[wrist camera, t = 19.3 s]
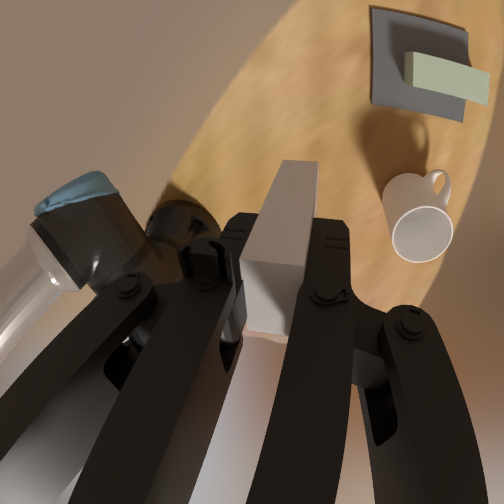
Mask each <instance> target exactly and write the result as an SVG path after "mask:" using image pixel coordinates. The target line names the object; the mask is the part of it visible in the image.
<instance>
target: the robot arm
mask: <svg viewBox="0 0 504 504" xmlns="http://www.w3.org/2000/svg"><path fill="white" fill-rule="evenodd" d="M318 170H319V162H310V161H295V160H283V161H282V163H281V165H280V168H279V170H278V172H277V174H276V177H275V179H274V181H273V183H272V186H271V188H270V190H269V192H268V195H267V197H266V199H265V201H264V204H263V206H262V208H261V210H260V213H259V214H255V213H242V212H239V213H238V214H236V215H235V216H233V217H232V218H231V219H229V221H228V222H227V224H226V226H225V228H224V231H222V233H221V230H220V228H219V226H218V224H217V223H216V221H215V220H214V219H213V217H212V216H211V215H210V214H209V213H208V212H206V211H205V210H204V209H202V208H201V207H199V206H197V205H195V204H193V203H190V202H187V201H182V200H173V201H168V202H165V203H163V204H162V205H160V206H159V207H158V208H157V209H156V210H155V211H154V212H153V213H152V215H151V216H150V218H149V220H148V223H147V226H146V229H145V232H144V230H143V229H142V228H141V226H140V225H139V223H138V222H137V220H136V219H135V217H134V216H133V214H132V213H131V212H130V210H129V209H128V207H127V205H126V204H125V202H124V201H123V199H122V198H121V196H120V195H119V191H118V190H116V189H115V188H114V186H113V185H112V183H111V182H110V181H109V179H108V178H107V176H106V175H105V174H104V173H102V172H100V171H92V172H89V173H87V174H84V175H82V176H80V177H78V178H76V179H74V180H72V181H71V182H69V183H67V184H65V185H64V186H62V187H61V188H59V189H57V190H56V191H55V192H53V193H52V194H50V195H49V196H48V197H46V198H45V199H44V200H42V201H41V202H40V203H38V204H37V205H36V206H35V208H34V213H35V214H34V215H35V216H36V217H38V218H37V219H36V220H35V221H33V222H32V223H31V224H30V225H29V226H28V233H27V240H26V243H25V245H23V247H22V248H21V249H19V250H18V252H16V254H15V255H14V256H13V257H12V258H11V259H10V260H9V261H8V262H7V263H6V264H5V265H4V266H3V267H2V268H1V269H0V364H1V362H2V361H3V360H4V359H5V357H6V356H7V354H8V353H9V352H10V351H11V350H12V349H13V347H14V346H15V345H16V344H17V342H18V341H19V340H20V339H21V338H22V337H23V335H24V334H25V333H26V332H27V331H28V330H29V328H30V327H31V326H32V325H33V324H34V323H35V322H36V320H37V319H38V318H39V317H40V316H41V315H42V314H43V313H44V312H45V310H46V309H47V308H48V307H49V306H50V305H51V304H52V303H53V302H54V301H55V300H56V299H57V298H58V296H60V294H61V293H62V292H65V291H72V292H78V291H79V290H81V289H82V287H83V286H84V285H85V284H88V285H89V287H90V288H91V289H92V290H93V291H94V292H95V293H96V296H95V297H94V299H93V301H91V302H90V304H89V305H88V306H86V307H85V308H84V309H83V310H82V311H81V312H80V313H79V314H78V315H77V316H76V317H75V318H74V319H73V320H72V321H71V322H70V323H69V324H68V325H67V326H66V327H65V328H64V329H63V330H62V331H61V332H60V333H59V334H58V335H57V336H56V337H55V338H54V339H53V340H52V341H51V342H50V343H49V345H48V346H47V347H46V348H45V349H44V350H43V351H42V352H41V353H40V354H39V355H38V356H37V357H36V358H35V359H34V361H33V362H32V363H31V364H30V365H29V366H28V367H27V368H26V369H25V370H24V372H23V373H22V374H21V375H20V376H19V377H18V378H17V380H16V381H15V382H14V383H13V384H12V385H11V386H10V388H9V389H8V390H7V391H6V392H5V393H4V395H3V396H2V397H1V398H0V504H53V503H54V502H55V501H56V499H57V498H58V497H59V496H60V494H61V493H62V492H63V491H64V490H65V488H66V487H67V486H68V485H69V483H70V482H71V481H72V480H73V479H74V477H75V476H76V475H77V473H78V472H79V471H80V470H81V469H82V467H83V466H84V467H83V470H82V472H81V474H80V476H79V479H78V481H77V483H76V485H75V488H74V490H73V492H72V495H71V497H70V499H69V502H68V504H188V503H189V500H190V498H191V495H192V492H193V489H194V487H195V484H196V481H197V478H198V475H199V473H200V470H201V467H202V464H203V461H204V458H205V455H206V453H207V450H208V447H209V444H210V441H211V438H212V435H213V433H214V430H215V426H216V424H217V421H218V418H219V415H220V412H221V409H222V406H223V403H224V400H225V397H226V394H227V391H228V388H229V385H230V382H231V379H232V376H233V373H234V370H235V367H236V364H237V361H238V358H239V355H240V352H241V349H242V345H243V335H242V331H243V328H244V325H245V322H246V321H247V330H252V331H258V332H264V333H271V334H278V335H285V336H289V339H288V343H287V348H286V352H285V357H284V361H283V366H282V370H281V375H280V379H279V383H278V387H277V392H276V396H275V400H274V404H273V408H272V412H271V416H270V420H269V424H268V427H267V431H266V435H265V439H264V442H263V446H262V450H261V453H260V457H259V461H258V464H257V468H256V471H255V474H254V478H253V481H252V485H251V488H250V491H249V494H248V498H247V501H246V504H335V499H336V494H337V489H338V484H339V479H340V473H341V467H342V461H343V454H344V448H345V440H346V433H347V424H348V416H349V406H350V396H351V384H354V385H357V388H358V393H359V398H360V403H361V408H362V414H363V419H364V425H365V431H366V437H367V443H368V451H369V457H370V465H371V472H372V480H373V488H374V498H375V504H488V496H487V490H486V483H485V477H484V472H483V467H482V462H481V458H480V453H479V449H478V445H477V440H476V437H475V433H474V429H473V426H472V422H471V418H470V415H469V412H468V408H467V405H466V402H465V399H464V396H463V393H462V390H461V387H460V384H459V381H458V379H457V376H456V373H455V370H454V368H453V365H452V363H451V360H450V357H449V355H448V353H447V350H446V348H445V345H444V343H443V341H442V338H441V336H440V333H439V331H438V329H437V327H436V325H435V322H434V321H433V320H432V318H431V317H430V315H429V314H427V313H426V312H425V311H424V310H422V309H421V308H418V307H415V306H413V305H399V306H396V307H393V308H392V309H391V310H390V311H389V312H387V313H385V312H382V311H380V310H377V309H374V308H372V307H370V306H368V305H366V304H364V303H363V302H362V301H360V300H359V299H358V298H357V296H356V295H355V294H354V292H353V290H352V287H351V268H350V242H349V241H350V236H349V229H348V227H347V226H346V224H345V223H344V222H343V220H334V219H324V218H316V208H317V190H318ZM126 338H129V340H128V341H126V342H125V343H122V342H123V341H124V340H125V339H126Z"/></svg>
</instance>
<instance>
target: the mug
mask: <svg viewBox="0 0 504 504" xmlns="http://www.w3.org/2000/svg"><path fill="white" fill-rule="evenodd" d="M441 173H444V174H445V176H446V180H445V184H444V186H443V188H442V190H441V191H440V193H439V194H438V195H436V193H435V191H434V190H433V184H434V182H435V179H436V178H437V176H438V175H439V174H441ZM450 192H451V180H450V177H449V175H448V173H447V172H446V171H444V170H442V169H435V170H433V171H431V172H429V173H428V174H426V175H425V176H424V177H422V176H420V175H418V174H414V173H403V174H400V175H397V176H395V177H394V178H392V179H391V180H390V181H389V182H388V183H387V185H386V186H385V189H384V191H383V195H382V204H383V209H384V212H385V216H386V220H387V224H388V228H389V232H390V236H391V240H392V245H393V247H394V249H395V251H396V252H397V254H398V255H399V256H400V257H402V258H403V259H405V260H407V261H410V262H416V263H421V262H427V261H430V260H433V259H435V258H437V257H438V256H440V255H441V254H442V253H443V252H444V251H445V250H446V249H447V247H448V246H449V244H450V242H451V240H452V236H453V224H452V221H451V219H450V217H449V215H448V213H447V211H446V206H447V203H448V200H449V197H450Z"/></svg>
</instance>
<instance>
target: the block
mask: <svg viewBox="0 0 504 504" xmlns="http://www.w3.org/2000/svg"><path fill="white" fill-rule="evenodd" d="M489 79H490V74H488V73H486V72H483V71H480V70H477V69H475V68H472V67H469V66H466V65H462V64H459V63H456V62H453V61H449V60H446V59H442V58H438V57H434V56H430V55H426V54H422V53H417V52H404V83H405V84H408V85H410V86H413V87H418V88H423V89H427V90H432V91H436V92H440V93H444V94H448V95H452V96H456V97H459V98H463V99H466V100H470V101H473V102H476V103H479V104H482V105H485V106H487V104H488V93H489Z"/></svg>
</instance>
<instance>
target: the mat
mask: <svg viewBox="0 0 504 504" xmlns="http://www.w3.org/2000/svg"><path fill="white" fill-rule="evenodd" d="M371 14H372V44H373V69H372V101H371V104H373V105H381V106H387V107H393V108H399V109H405V110H410V111H415V112H420V113H425V114H430V115H434V116H438V117H443V118H447V119H451V120H455V121H458V122H462V123H463V117H464V109H465V100H466V99H463V98H459V97H456V96H452V95H448V94H444V93H440V92H436V91H432V90H427V89H423V88H418V87H413V86H410V85H408V84H405V83H404V52H417V53H422V54H426V55H430V56H434V57H438V58H442V59H446V60H449V61H453V62H456V63H459V64H462V65H466V66H468V32H466V31H463V30H460V29H457V28H454V27H451V26H448V25H445V24H442V23H438V22H435V21H431V20H427V19H424V18H420V17H415V16H411V15H407V14H402V13H397V12H392V11H386V10H380V9H374V8H372V9H371Z"/></svg>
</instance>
